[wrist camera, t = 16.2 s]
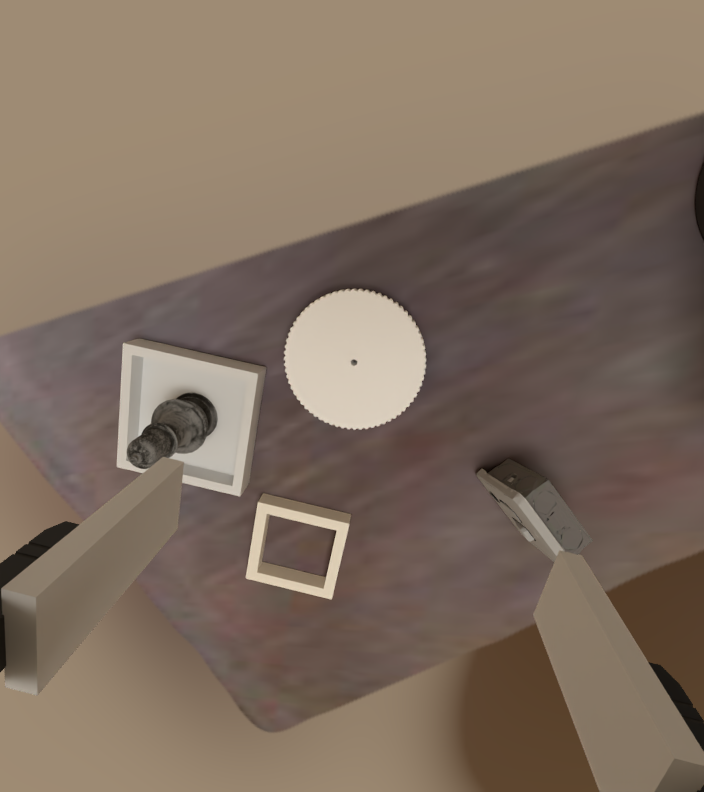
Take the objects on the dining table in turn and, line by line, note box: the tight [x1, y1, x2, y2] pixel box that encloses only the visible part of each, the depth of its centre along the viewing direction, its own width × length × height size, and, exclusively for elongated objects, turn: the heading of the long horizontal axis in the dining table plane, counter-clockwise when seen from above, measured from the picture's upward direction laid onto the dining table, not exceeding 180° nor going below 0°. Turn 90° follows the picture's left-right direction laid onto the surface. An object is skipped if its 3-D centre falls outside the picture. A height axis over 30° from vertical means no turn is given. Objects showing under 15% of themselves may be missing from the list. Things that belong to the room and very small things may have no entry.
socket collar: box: [246, 493, 351, 599], centre depth 52 cm, size 10×10×2 cm
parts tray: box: [117, 338, 267, 496], centre depth 48 cm, size 14×14×3 cm
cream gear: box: [284, 288, 426, 430], centre depth 45 cm, size 14×14×2 cm
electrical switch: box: [476, 458, 593, 562], centre depth 44 cm, size 9×5×9 cm, turn 38°
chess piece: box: [127, 393, 218, 469], centre depth 43 cm, size 6×6×12 cm
